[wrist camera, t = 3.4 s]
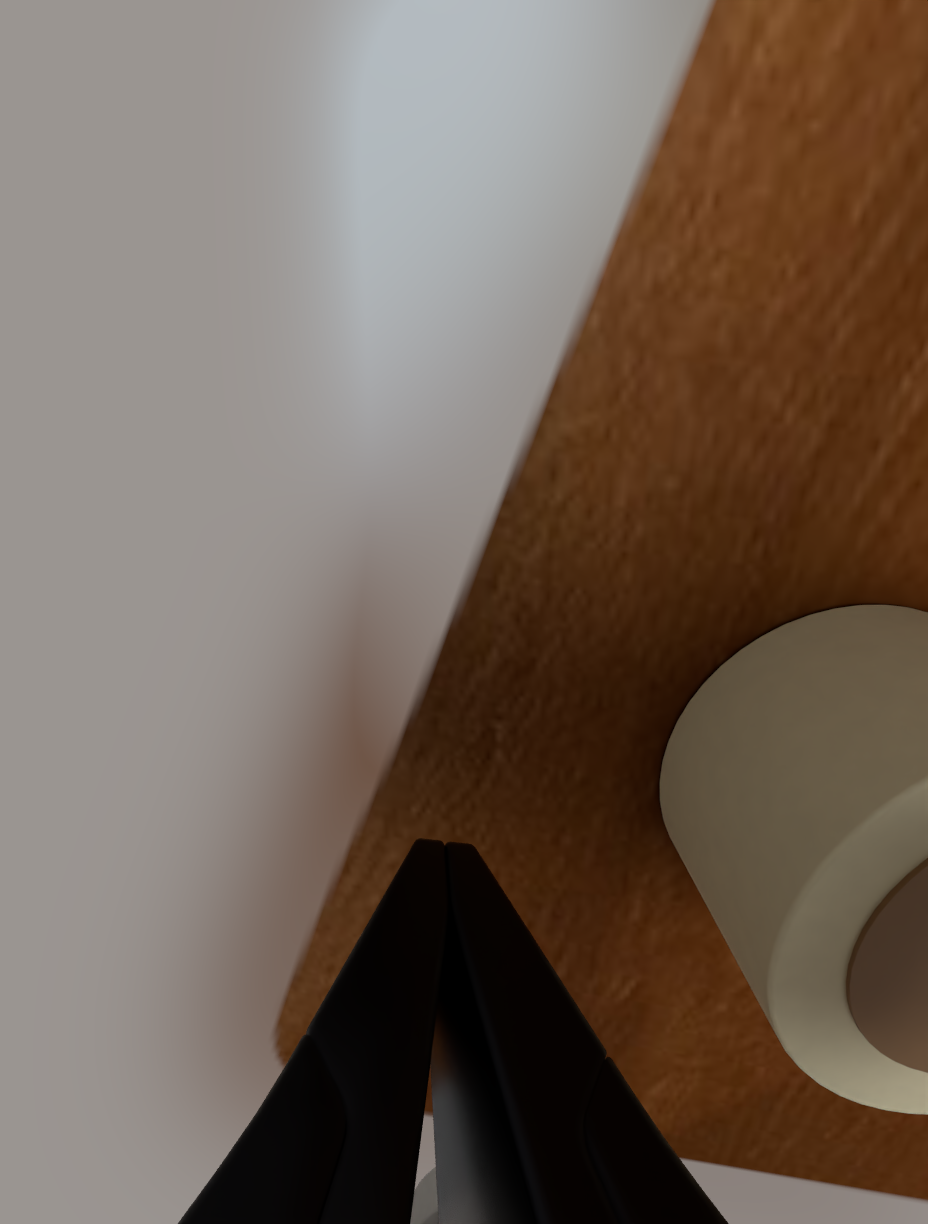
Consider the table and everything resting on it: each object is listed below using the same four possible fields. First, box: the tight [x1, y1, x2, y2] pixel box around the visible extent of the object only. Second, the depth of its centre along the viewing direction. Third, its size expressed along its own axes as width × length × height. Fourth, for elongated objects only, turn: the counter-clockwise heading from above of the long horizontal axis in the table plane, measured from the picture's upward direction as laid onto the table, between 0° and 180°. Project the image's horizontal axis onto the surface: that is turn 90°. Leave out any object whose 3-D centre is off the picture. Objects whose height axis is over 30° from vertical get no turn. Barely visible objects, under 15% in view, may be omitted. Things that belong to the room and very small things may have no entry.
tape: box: [660, 605, 928, 1114], centre depth 11 cm, size 8×8×5 cm
